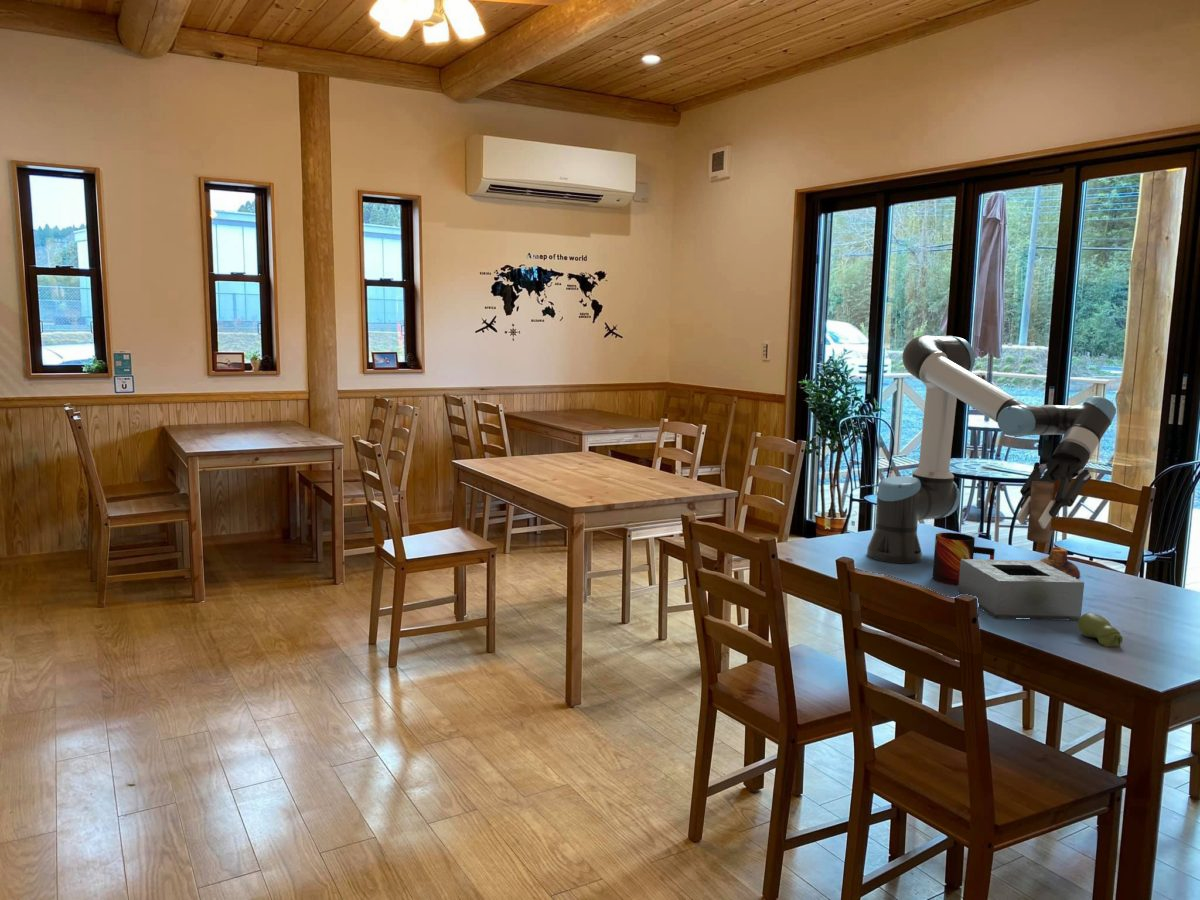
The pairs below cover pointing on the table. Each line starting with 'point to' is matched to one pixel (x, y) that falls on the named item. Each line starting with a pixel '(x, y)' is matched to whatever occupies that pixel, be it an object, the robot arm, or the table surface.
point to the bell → (1061, 562)
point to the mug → (954, 555)
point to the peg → (1039, 510)
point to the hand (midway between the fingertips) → (1030, 522)
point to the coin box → (1021, 589)
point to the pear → (1099, 630)
